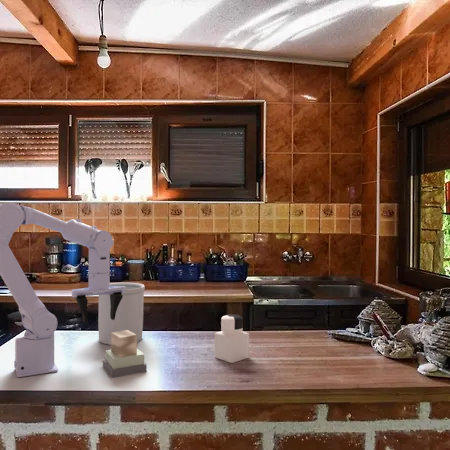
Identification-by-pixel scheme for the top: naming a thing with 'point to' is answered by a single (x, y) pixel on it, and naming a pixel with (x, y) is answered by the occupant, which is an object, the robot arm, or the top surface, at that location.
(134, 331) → the utensil holder
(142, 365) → the tower base
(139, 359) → the tower top
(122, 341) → the birch block
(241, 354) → the medicine bottle
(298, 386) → the top surface
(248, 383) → the top surface
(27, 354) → the robot arm
